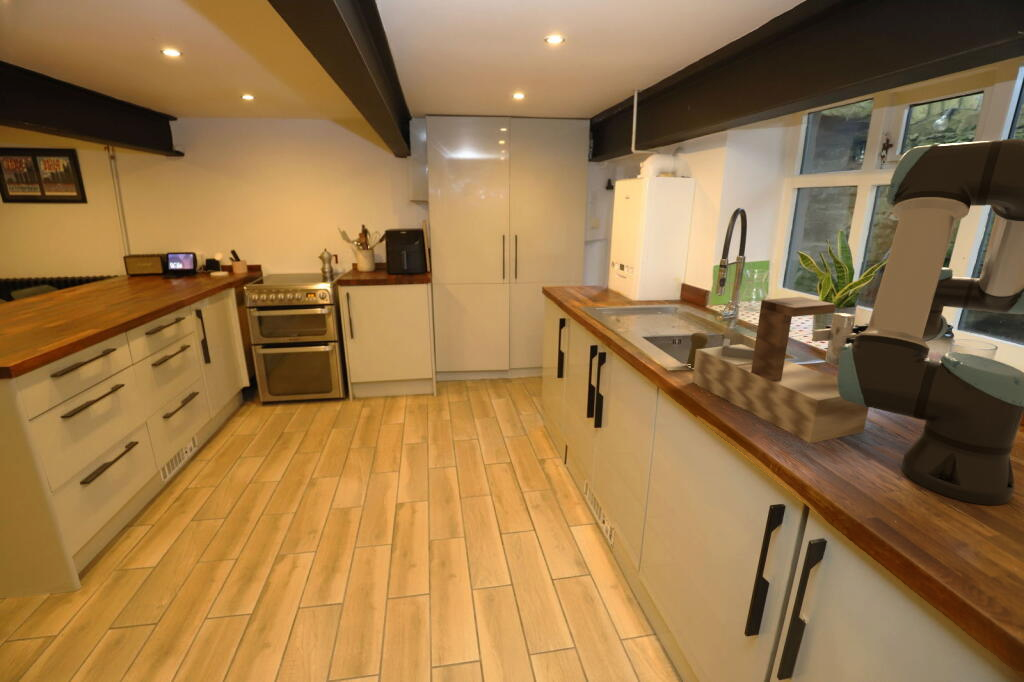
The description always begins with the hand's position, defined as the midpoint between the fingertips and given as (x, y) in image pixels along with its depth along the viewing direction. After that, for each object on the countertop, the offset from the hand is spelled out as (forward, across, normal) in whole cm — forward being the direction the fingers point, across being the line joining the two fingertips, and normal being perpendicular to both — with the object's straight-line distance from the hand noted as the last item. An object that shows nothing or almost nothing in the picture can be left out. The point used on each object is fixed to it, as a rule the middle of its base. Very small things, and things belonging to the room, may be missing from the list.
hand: (824, 338), depth 113 cm
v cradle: (+8, +17, -8) cm, 21 cm away
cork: (+5, +36, -19) cm, 41 cm away
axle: (-5, 0, -7) cm, 8 cm away
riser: (+8, +6, -18) cm, 21 cm away
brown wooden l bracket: (+10, +1, -9) cm, 13 cm away
